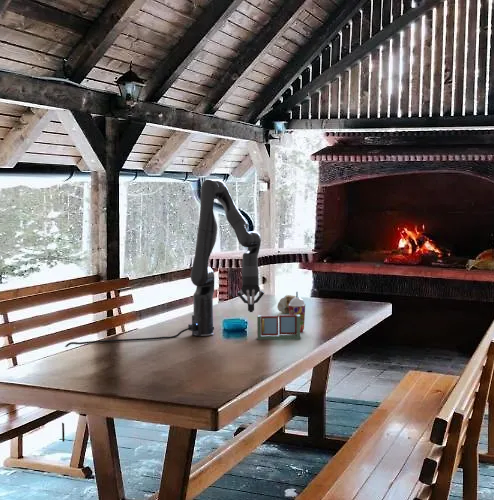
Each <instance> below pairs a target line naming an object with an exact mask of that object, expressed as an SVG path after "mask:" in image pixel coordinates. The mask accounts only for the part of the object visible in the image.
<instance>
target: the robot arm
mask: <svg viewBox="0 0 494 500" xmlns="http://www.w3.org/2000/svg"><path fill="white" fill-rule="evenodd" d="M215 200H217V201H218V202H219V203H220V204H221V205H222V207H223V209H224V214H225V218H226V220H227V222H228V224H229V225H230V226H231V228H232V229H233V231H234V234H235V236H236V239H237V241H238V243H239V245H240V246H242V247H243V248H247V251H245V252H244V253H243V254H242V270H241V272H242V273H241V277H242V278H241V279H242V282H241V283H242V286H241V289H240V290H239V291H238V292H237V293H236V294H237V296H238V297H239V299H240V300H241V301H242V302H243V303H244V304H247V311H248V312H249V313H253V312H254V311H255V304H258V303H259V301H260V300H261V299H262V298H263V296H264V295H265V292H264V291H263V290H261V288H260V283H259V282H260V278H259V277H260V276H259V274H260V272H259V271H260V270H259V253H260V249H261V244H262V239H261V234H260V233H259V232H257V231H255V230H253V231H248V230H247V229H248V227H249V223H248V221H247V220H246V219H245V217H244V216H243V215H242V213H241V212H240V210H239V208H238V207H237V205H236V204H235V202H234V200H233V198H232V195H231V194H230V192H229V189H228V187H227V186H226V184H225V182H224V181H223V180H220V179H211V178H207V179H205V180H204V181H203V182H202V184H201V187H200V206H199V207H200V208H199V217H198V218H199V219H198V226H197V232H196V233H197V234H196V241H195V242H196V243H195V250H194V258H193V262H192V267H191V271H190V281H191V283H192V285H194V286H195V287H196V289H195V292H194V293H193V297H192V299H193V301H192V303H193V314H192V315H191V323H189V324H187V327H186V328H184V329H182V330H181V331H179V332H178V333H177V334H175V335H172V336H171V335H170V336H158V337H157V336H156V337H155V336H154V337H141V338H140V337H139V338H122V339H121V338H120V339H118V338H117V339H103V340H91V341H81V342H77V341H70V342H68V343H67V344H65V346H64V348H67V347H69V346H72V345H87V344H98V343H112V342H113V343H114V342H134V341H135V342H137V341H149V340H150V341H152V340H163V339H164V340H165V339H175V338H177V337H179V336H180V335H181V334H183V333H184V332H186V331H190V332H191V335H192V336H195V337H210V336H213V335H214V330H215V326H214V309H213V308H214V302H213V301H214V299H213V298H214V294H215V272H214V270H213V269H212V268H211V266H209V262H210V257H211V254H212V253H213V249H214V248H215V244H216V242H217V237H218V236H217V235H218V223H217V222H218V221H217V219H216V216H215V212H214V204H215V203H214V202H215ZM257 295H258V296H257ZM244 296H245V297H244ZM256 296H257V298H256V299H255V297H256ZM61 430H62V431H61V435H62V437H61V439H62V440H61V441H62V442H65V423H64V422H61Z"/></svg>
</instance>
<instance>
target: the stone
mask: <svg viewBox="0 0 494 500" xmlns="http://www.w3.org/2000/svg"><path fill="white" fill-rule="evenodd" d="M295 297H296V295H291V294H286V295H285V296H284V297H281V298H280V299H279V301H278V304H277V310H278V311H279V312H281V313H282V314H289V305H288V304H289V303H290V301H291V300H292V299H293V298H295Z"/></svg>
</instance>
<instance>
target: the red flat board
mask: <svg viewBox="0 0 494 500" xmlns="http://www.w3.org/2000/svg"><path fill="white" fill-rule="evenodd" d="M275 335H279V315H261V336H275Z"/></svg>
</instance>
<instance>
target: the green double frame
mask: <svg viewBox="0 0 494 500" xmlns="http://www.w3.org/2000/svg"><path fill="white" fill-rule="evenodd" d="M256 316H257V317H256V318H257V319H256V322H257V323H256V325H257V326H256V327H257V330H256V331H257V336H256V337H257V341H258V340H259V341H261V340H263V341H264V340H265V341H266V340H267V341H268V340H270V341H271V340H275V341H276V340H301V333H300V315H289V314H279V315H278V335H275V336H261V316H262V315H261V314H257V315H256Z"/></svg>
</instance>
